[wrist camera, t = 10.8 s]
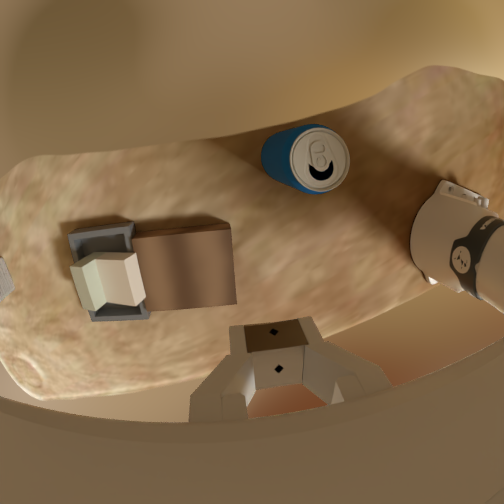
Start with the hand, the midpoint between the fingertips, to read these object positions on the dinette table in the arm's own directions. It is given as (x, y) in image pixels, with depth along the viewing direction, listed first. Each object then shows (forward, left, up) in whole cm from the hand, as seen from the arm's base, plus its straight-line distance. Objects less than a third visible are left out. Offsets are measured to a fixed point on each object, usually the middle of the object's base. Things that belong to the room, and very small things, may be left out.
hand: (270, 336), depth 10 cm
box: (+17, +7, -27) cm, 32 cm away
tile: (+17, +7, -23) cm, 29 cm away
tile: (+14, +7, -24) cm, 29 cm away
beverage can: (-8, -6, -27) cm, 28 cm away
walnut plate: (+6, +7, -27) cm, 28 cm away
